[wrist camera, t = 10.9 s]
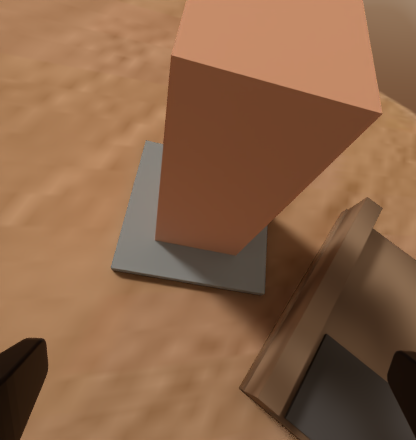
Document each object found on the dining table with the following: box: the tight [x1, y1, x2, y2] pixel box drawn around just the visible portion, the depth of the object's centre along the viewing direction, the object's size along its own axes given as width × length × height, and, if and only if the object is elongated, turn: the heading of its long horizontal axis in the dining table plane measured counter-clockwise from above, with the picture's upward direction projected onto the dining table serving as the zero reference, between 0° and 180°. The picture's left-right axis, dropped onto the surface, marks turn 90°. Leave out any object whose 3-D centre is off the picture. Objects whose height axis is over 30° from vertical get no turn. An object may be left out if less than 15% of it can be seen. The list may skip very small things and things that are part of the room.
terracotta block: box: [155, 0, 383, 256], centre depth 13 cm, size 5×5×12 cm
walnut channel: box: [239, 197, 416, 440], centre depth 16 cm, size 14×13×3 cm
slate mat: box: [111, 141, 267, 295], centre depth 18 cm, size 9×9×1 cm
